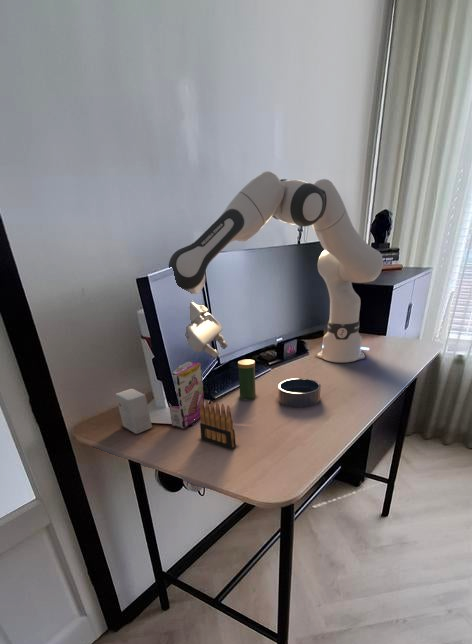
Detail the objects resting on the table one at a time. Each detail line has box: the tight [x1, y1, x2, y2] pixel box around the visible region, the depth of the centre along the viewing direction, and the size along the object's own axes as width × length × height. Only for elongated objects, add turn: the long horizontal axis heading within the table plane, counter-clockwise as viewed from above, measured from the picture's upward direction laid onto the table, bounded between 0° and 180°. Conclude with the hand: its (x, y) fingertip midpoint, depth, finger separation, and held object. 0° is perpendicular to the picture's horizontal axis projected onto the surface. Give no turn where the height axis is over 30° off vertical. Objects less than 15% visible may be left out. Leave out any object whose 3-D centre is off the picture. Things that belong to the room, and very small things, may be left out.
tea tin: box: [237, 358, 257, 401], centre depth 131 cm, size 5×5×12 cm
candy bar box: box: [168, 361, 205, 430], centre depth 117 cm, size 11×5×16 cm, turn 149°
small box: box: [114, 388, 153, 435], centre depth 117 cm, size 8×6×10 cm
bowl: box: [277, 377, 322, 409], centre depth 128 cm, size 13×13×5 cm
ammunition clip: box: [199, 398, 237, 450], centre depth 105 cm, size 11×2×12 cm, turn 53°
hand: (221, 351), depth 127 cm, fingers open, 8 cm apart
